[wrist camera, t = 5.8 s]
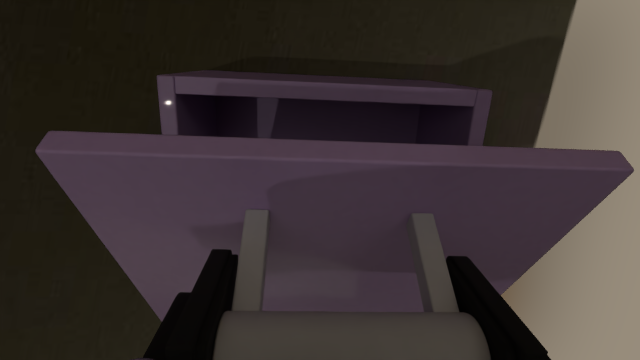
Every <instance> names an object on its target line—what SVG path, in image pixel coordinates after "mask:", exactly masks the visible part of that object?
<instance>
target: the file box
mask: <svg viewBox="0 0 640 360" xmlns="http://www.w3.org/2000/svg"><path fill="white" fill-rule="evenodd" d="M157 86H158V97H159V108H160V119H161V130H162V135H186V136H214V137H242V138H270V139H298V140H326V141H353V142H381V143H409V144H437V145H465V146H482V145H483V140H484V135H485V129H486V124H487V119H488V113H489V108H490V103H491V98H492V91H491V90H487V89H480V88H474V87H467V86H461V85H454V84H448V83H441V82H435V81H425V80H403V79H382V78H361V77H339V76H318V75H296V74H275V73H253V72H232V71H211V70H204V71H194V72H184V73H174V74H164V75H157Z"/></svg>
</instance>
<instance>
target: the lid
mask: <svg viewBox="0 0 640 360" xmlns="http://www.w3.org/2000/svg"><path fill="white" fill-rule="evenodd" d="M36 154H37V155H38V156H39V158H40V159H41V160H42V162H43V163H44V164H45V166H46V167H47V168H48V170H49V171H50V173H51V174H52V175H53V177H54V178H55V179H56V181H57V182H58V183H59V185H60V186H61V187H62V189H63V190H64V191H65V193H66V194H67V195H68V197H69V198H70V199H71V201H72V202H73V203H74V205H75V206H76V207H77V209H78V210H79V211H80V213H81V214H82V215H83V217H84V218H85V219H86V221H87V222H88V223H89V225H90V226H91V227H92V229H93V230H94V231H95V233H96V234H97V235H98V237H99V238H100V240H101V241H102V242H103V244H104V245H105V246H106V248H107V249H108V250H109V252H110V253H111V254H112V256H113V257H114V258H115V260H116V261H117V262H118V264H119V265H120V266H121V268H122V269H123V270H124V272H125V273H126V274H127V276H128V277H129V278H130V280H131V281H132V282H133V284H134V285H135V286H136V288H137V289H138V290H139V292H140V293H141V294H142V296H143V297H144V298H145V300H146V301H147V302H148V304H149V305H150V306H151V308H152V309H153V311H154V312H155V313H156V315H157V316H158V317H159V319H160V320H161V321H163V319H164V317H165V316H166V314H167V312H168V310H169V308H170V306H171V304H172V303H173V301H174V299H175V297H176V296H177V294H178V293H180V292H192V290H193V288H194V286H195V283H196V281H197V279H198V277H199V275H200V273H201V271H202V269H203V267H204V265H205V263H206V261H207V259H208V257H209V254H210V252H211V250H212V249H228V250H231V251H232V254H237V255H238V267H237V274H236V281H235V288H234V295H233V302H232V309H231V311H226V312H224V313H223V314H222V316H221V319H220V321H219V324H218V328H217V332H216V336H215V342H214V348H213V355H212V360H491V355H490V351H489V347H488V343H487V340H486V338H485V335H484V333H483V331H482V329H481V327H480V325H479V323H478V322H477V321H476V319H475V318H474V317H473V316H471V315H470V314H467V313H464V312H459V309H458V305H457V301H456V297H455V294H454V290H453V286H452V283H451V279H450V275H449V271H448V268H447V264H446V258H447V257H448V256H467V257H468V258H470V260H471V261H472V262H473V263H474V264H475V266H476V267H477V268H478V269H479V270H480V272H481V273H482V274H483V275H484V276H485V278H486V279H487V280H488V281H489V282H490V284H491V285H492V286H493V287H494V288H495V289H496V291H497V292H498V293H499V294H500V295H501V294H502V293H504V292H505V291H506V290H507V289H508V288H509V287H510V286H511V285H512V284H513V283H514V282H515V281H516V280H518V279H519V278H520V277H521V276H522V275H523V274H524V273H525V272H526V271H527V270H528V269H529V268H530V267H531V266H533V265H534V264H535V263H536V262H537V261H538V260H539V259H540V258H541V257H542V256H543V255H544V254H546V253H547V252H548V251H549V250H550V249H551V248H552V247H553V246H554V245H555V244H556V243H557V242H558V241H560V240H561V239H562V238H563V237H564V236H565V235H566V234H567V233H568V232H569V231H570V230H571V229H572V228H573V227H574V226H576V224H578V223H579V222H580V221H581V220H582V219H583V218H584V217H585V216H586V215H588V214H589V213H590V212H591V211H592V210H593V209H594V208H595V207H596V206H597V205H598V204H599V203H600V202H601V201H603V200H604V199H605V198H606V197H607V196H608V195H609V194H610V193H611V192H612V191H613V190H614V189H616V188H617V187H618V186H619V185H620V184H621V183H622V182H623V181H624V180H625V179H626V178H627V177H628V176H629V175H631V174H632V173H633V171H634V169H633V167H632V166H631V165H630V164H629V163H628V161H627V160H626V158H625V157H624V156H623V155H622V153H620V152H619V151H604V150H576V149H549V148H521V147H493V146H465V145H437V144H409V143H381V142H353V141H326V140H298V139H270V138H242V137H214V136H186V135H158V134H130V133H102V132H74V131H49V132H47V134H46V135H45V137H44V138H43V140H42V141H41V142H40V144H39V145H38V147H37V148H36Z"/></svg>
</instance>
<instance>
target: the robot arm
mask: <svg viewBox="0 0 640 360" xmlns="http://www.w3.org/2000/svg"><path fill="white" fill-rule="evenodd" d="M446 264H447V268H448V271H449V275H450V279H451V283H452V286H453V290H454V294H455V297H456V301H457V305H458V309H459V312H464V313H467V314H470V315H471V316H473V317H474V318H475V319H476V321H477V322H478V323H479V325H480V327H481V329H482V331H483V333H484V335H485V338H486V340H487V343H488V347H489V351H490V355H491V360H551V359H550V358H549V357H548V355H547V353H548V352H547V350H546V349H545V348H544V347H543V346H542V345H541V343H540V342H539V341H538V340H537V338H536V337H535V336H534V335H533V334H532V333H531V331H530V330H529V329H528V328H527V326H526V325H525V324H524V323H523V322H522V321H521V319H520V318H519V317H518V316H517V315H516V313H515V312H514V311H513V310H512V309H511V307H509V305H508V304H507V303H506V301H505V300H504V299H503V298H502V297H501V295H500V294H499V293H498V292H497V291H496V289H495V288H494V287H493V286H492V285H491V284H490V282H489V281H488V280H487V279H486V278H485V276H484V275H483V274H482V273H481V272H480V270H479V269H478V268H477V267H476V266H475V264H474V263H473V262H472V261H471V260H470V258H468V257H467V256H448V257H447V258H446ZM237 267H238V255H237V254H232V251H231V250H228V249H212V250H211V252H210V254H209V257H208V259H207V261H206V263H205V265H204V267H203V269H202V271H201V273H200V275H199V277H198V279H197V281H196V283H195V286H194V288H193V290H192V292H180V293H178V294H177V296H176V297H175V299H174V301H173V303H172V304H171V306H170V308H169V310H168V312H167V314H166V316H165V317H164V319H163V321H162V323H161V325H160V327H159V329H158V330H157V332H156V334H155V336H154V338H153V340H152V342H151V343H150V345H149V347H148V349H147V351H146V353H145V355H144V356H143V358H138V359H131V360H212V355H213V348H214V342H215V336H216V332H217V328H218V324H219V321H220V319H221V316H222V314H223V313H224V312H226V311H231V309H232V302H233V295H234V288H235V281H236V274H237Z"/></svg>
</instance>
